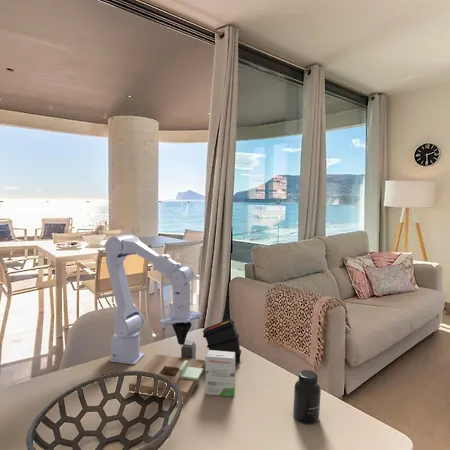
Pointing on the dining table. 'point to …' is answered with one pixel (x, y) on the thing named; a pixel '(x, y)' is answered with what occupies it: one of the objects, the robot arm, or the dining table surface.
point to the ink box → (220, 373)
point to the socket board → (168, 367)
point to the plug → (188, 350)
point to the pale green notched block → (189, 371)
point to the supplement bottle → (307, 397)
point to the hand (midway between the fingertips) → (181, 343)
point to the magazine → (223, 338)
